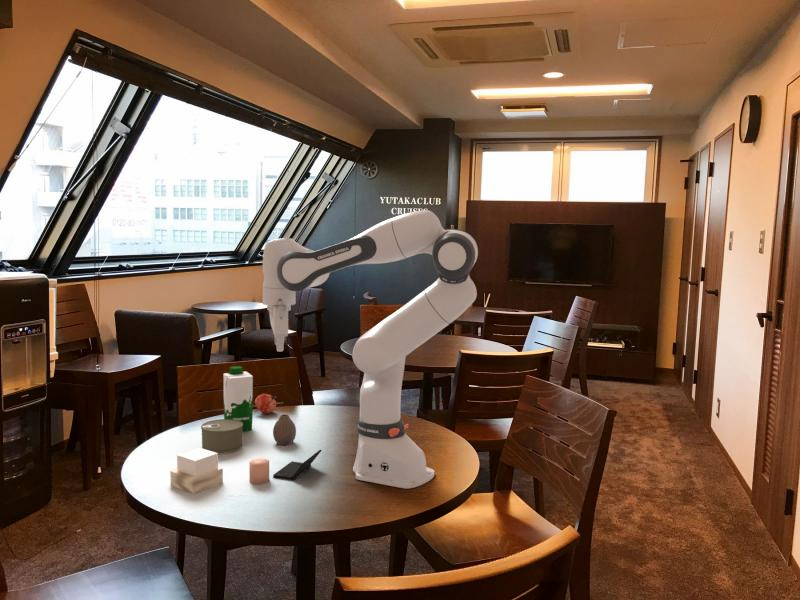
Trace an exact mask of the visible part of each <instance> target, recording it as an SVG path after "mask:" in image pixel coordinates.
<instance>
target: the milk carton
mask: <svg viewBox="0 0 800 600" xmlns="http://www.w3.org/2000/svg"><path fill="white" fill-rule="evenodd" d="M253 378H254V376H253V375H252V374H251V373H249V372H248V371H243V366H240V365H233V366H229V372H226V373H223V419H233V420H238V421H241V422H242V423H243V427H242V432H247V431H252V430H253V415H254V414H253V412H254V411H253V410H254V409H253V408H254V407H253V405H254V404H253V403H254V401H253V399H254V398H253V391H254V390H253V389H254V388H253V383H254V379H253Z"/></svg>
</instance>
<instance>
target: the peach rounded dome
mask: <svg viewBox="0 0 800 600" xmlns="http://www.w3.org/2000/svg"><path fill="white" fill-rule="evenodd" d="M249 483H250V484H252V485H263V484H267V483H270V459H267V458H254V459H251V460H250V461H249Z"/></svg>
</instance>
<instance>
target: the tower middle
mask: <svg viewBox="0 0 800 600" xmlns="http://www.w3.org/2000/svg"><path fill="white" fill-rule="evenodd" d="M218 457H219V454H218V453H215V452H212V451H209V450H205V449H202V447H198V448H194V449H193V450H189V451H186V452H183V453H179V454H177V455H176V465H177V466H176V467H177V468H176V469H177V471H180V472H183V473H186V474H189V475H192V476H195V477H196V476H199V475H201V474H204V473H207V472H210V471H212V470H215V469H218V467H219V458H218Z"/></svg>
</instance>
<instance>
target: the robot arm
mask: <svg viewBox="0 0 800 600" xmlns="http://www.w3.org/2000/svg"><path fill="white" fill-rule="evenodd" d="M419 254H428V255H431V257H432V261H433V262H432V263H433V266H434V267H435V269H436V272H437V275H438V278H437V279H436V280H435V281H434V282H433V283H432V284H430V285H429V286H427V288H425V289H424V290H423V291H421V292H420V293H418V294H417V295H416V296H415V297H413V298H411V299H410V300H409V301H408V302H406V303H405V304H404V305H403V306H401V307H400V308H399V309H397V310H396V311H395V312H394V311H393V313H392V314H390V315H388V316H387V317H386V318H384V319H383V320H381V321H380V322H379V323H377V324H376V325H375V326H373V327H372V328H370V329H369V330H368V331H365V332H364V333H363V334H361V336H360V337H359V338H358V339H357V340H356V342H355V344H354V346H353V348H352V353H351V357H352V361H353V364H354V365H355V367H356V368H357V369H358V370H360V371H361V372H363V378H362V384H361V386H360V389H359V417H358V419H357V433H358V444H357V450H356V456H355V460H354V463H353V467H352V471H353V472H354V473H355V479H356V480H359V481H364V482H367V483H368V482H370V483H374V484H379V485H384V486H389V487H395V488H400V489H405V490H406V489H413V488H417V487H421V486H423V485H424V484H426V483H428V482H429V481H431V480H432V479H433V478H434V477H435V470H434V469H433V468H430V467H428V466H427V460H426V456H425V452H424V450H422V449H421V448H420V446H418V445H417V444H416V443H415V441H414V440H412V439H411V438H410V437H409V436H408V435H407V433H406V432H407V431H406V429H408V428H409V425H410V424H409V423H405V424H404V422H403V419H402V418H401V405H402V403H401V399H402V398H401V397H402V386H403V380H404V373H405V363H406V357H407V356H408V355H410V354H411V353H412V352H413V351H415V350H416V349H417V348H418V347H420V346H421V345H423V344H424V343H426V342H427V341H429V340H430V339H431V338H432V337H434V336H435V335H436V334H438V333H439V332H441V331H442V330H443V329H445V328H446V327H448V326H449V325H450V324H451V323H453V322H454V321H455V320H457V319H458V318H459V317H461V315H462V314H464V313H465V311H467V309H468V308H470V307H471V305H472V304H473V303H475V301H476V299H477V296H478V293H477V287H476V285H475V283H474V281H473V280H472V279H471V277H470V273H471V270H472V269H473V267H474V265H475V263H476V262H477V259H478V256H479V246H478V243H477V240H476V238H475V237H474V236H473V235H472V234H471V233H469V232H468V231H465V230H463V229H457V228H451V227H445V226H444V227H443V226H442V222H441V221H440V219H439V218H438V216H437V214H435V212H433V211H432V210H428V209H422V210H416V211H411V212H407V213H402V214H399V215H396V216H393V217H391V218H388V219H386V220H383V221H381V222H378V223H377V224H374V225H373V226H371V227H369V228H368V229H366V230H364V231H362V232H361V233H359V234H357V235H355V236H353V237H351V238H349V239H347V240H345V241H341V242H338V243H336V244H333V245H329V246H327V247H324V248H322V249H318V250H313V249H310V248H308V247H305V246H303V245H302V244H299V243H298V242H296V241H295V240H294V238H292V237H283V238H275V239H271V240H268V241H267V242H266V243H265V245H264V249H263V255H262V274H263V283H262V304H263V305H265V306H267V308H266V309H267V311H268V314H269V321H270V322H269V323H270V327H271V330H272V332H273V335H274V337H273V338H274V345H275V346H276V351H277V352H278V353H279V352H283V351H284V350H285V349H284V345H285V337H288V336H289V335H288V334H289V311H291V310H292V306H294V305H296V303H297V302H296V300H297V299H296V297H297V296H296V292H300V291H303V290H306V289H309V288H313V287H314V288H315V287H318V286H321V285H322V284H324V283H325V282H326V281H327V280H329V277H330V274H331V273H333V272H336V271H339V270H343V269H345V268H348V267H352V266H359V265H372V264H373V265H376V264H388V263H394V262H398V261H402V260H405V259H407V258H410V257H413V256H417V255H419Z"/></svg>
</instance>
